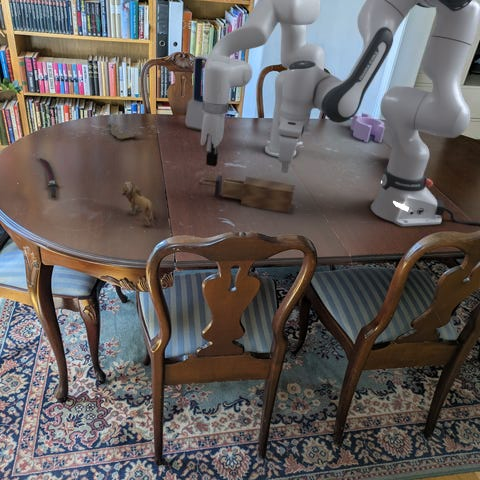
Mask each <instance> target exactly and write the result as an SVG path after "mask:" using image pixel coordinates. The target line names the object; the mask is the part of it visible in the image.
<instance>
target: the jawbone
mask: <svg viewBox="0 0 480 480" xmlns="http://www.w3.org/2000/svg"><path fill="white" fill-rule="evenodd" d="M109 125H110V126H111V129H110V133H111V134H112V135H113V136H114V137H116V139H118V140H125V139H129V138H133V139H136V140H137V135H139V136H141V135H143V132H142V131H141V132H140V131H132V132H129V133H126V132H125V133H124V132H122V131H120V129H119V126H118V127H117V126H116V125H115V123H114V121H109Z"/></svg>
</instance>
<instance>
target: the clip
mask: <svg viewBox="0 0 480 480" xmlns="http://www.w3.org/2000/svg"><path fill="white" fill-rule="evenodd" d="M358 114H359V113H358V112H357V113H356V114H355V115H354V116H353V117H352V118H351V122H350V126H349V129H350V130H351V131H353V132H352V136H353V137H354V138H356V139H358V140H361V141H363V142H364V143H368V142H369V140H370V135H372V136H374V139H373V140H374V142H376V143H382V140H383V137H384V132H385V129H386V127H385V122H384V121H383V120H380V119H377V118H374V117H372V115H371V114H369V113H366V112H361V115H358Z"/></svg>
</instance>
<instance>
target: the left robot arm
mask: <svg viewBox="0 0 480 480" xmlns="http://www.w3.org/2000/svg"><path fill="white" fill-rule="evenodd" d="M321 7H322V6H321V0H257V1H256V3H255V5H254V6H253V8H252V10H251V11H250V13H249V15H248V16H247V18H246V19H245V21H244V23H243V25H241V26H238V27H237V28H235V29H234V30H232V31H230V32H228V33H227V34H224V36H222V37H221V38H220V39H218V41H217V42H216V43H215V44H214V46H213V47H212V49H211V51H210V53H209V56H208V58H207V60H206V61H205V64H204V68H203V70H204V71H203V87H202V96H203V106H202V111H203V112H204V117H203V123H202V131H201V133H200V146H201V147H204V146H205V144H206V148H205V149H206V150H205V151H206V157H205V158H206V159H205V165H206V166H210V167H217V165H218V159H219V146H220V143H221V142H222V141H223V137H224V133H225V116H227V115H228V113H229V100H230V90H231V89H233V88H243V87H245V86H246V85H248V84H249V83H250V82H251V80H252V78H253V68H252V66H251V64H250V63H248V62H247V61H245V60H242V59H237V58H235V57H231V56H232V55H234V54H236V53H238V52H242V51H245V50H251V49H255V48H260V47H262V46H264V45H266V43H267V42H268V40H269V38H270V37H271V35H272V33H273V32H274V30H275V28H276V27H277V25H278V24H280V28H281V29H280V31H281V32H280V33H281V34H280V35H281V37H280V63H281V65H282V66H283V68H285V70H281V71H280V72H279V73H278V74H277V75H276V77H275V81H274V96H275V97H274V107H273V114H272V115H273V116H272V124H271V130H270V138H269V144H266V146H265V147H264V148H265V149H264V151H265V153H266V154H267V155H269V156H272V157H273V158H274V157H275V158H278V154H279V138H280V135H279V134H278V128H279V127H278V118H279V111H280V106H281V104H282V90H283V84H284V79H285V75H286V71H287V69H288V67H289V66H290V65H291V64H292V63H294V62H297V61H311V62H314V63H315V64H316V65H317V66H318V67H319V68H320V69H322V70H323V71H325V64H326V63H325V62H326V54H325V51H324V49H323V48H322V47H321V46H320V45H317V44H314V43H308V42H307V41H306V40H307V25H313V24H314V23H315V22H316V21H317V20H318V18H319V16H320V13H321ZM303 145H304V144H303V141H298V143H297V146H296V148H297V147H302V146H303ZM296 155H297V150H296V149H295V152H294V156H293V157H295V156H296Z"/></svg>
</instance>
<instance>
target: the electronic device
mask: <svg viewBox="0 0 480 480" xmlns="http://www.w3.org/2000/svg"><path fill="white" fill-rule="evenodd" d="M209 54H210V53H209ZM209 54H208V53H203V54H199V55H197V56H194V57H193V68H192V69H193V72H192V73H193V74H192V76H193V77H192V98H191V99H189V100H188V101H187V107H186V108H187V109H186V114H185V119H184V124H185V126H186V127H187V128H188V129H191V130H192V129H193V130H197V131H201V132H202V123H203V117H204V112H203V111H202V106H203V95H202V80H203V61H205V62H206V60H207V58H208V56H209Z"/></svg>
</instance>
